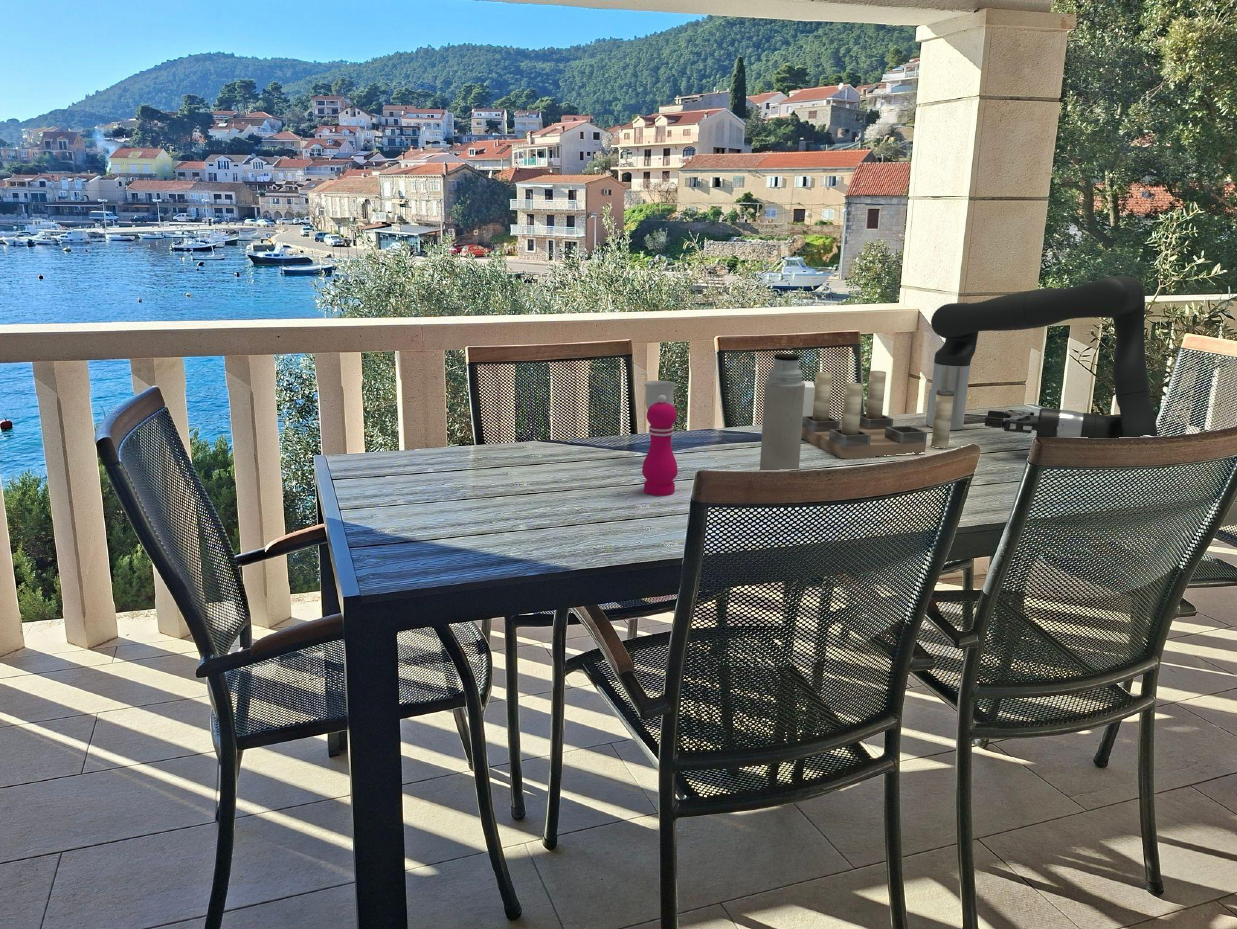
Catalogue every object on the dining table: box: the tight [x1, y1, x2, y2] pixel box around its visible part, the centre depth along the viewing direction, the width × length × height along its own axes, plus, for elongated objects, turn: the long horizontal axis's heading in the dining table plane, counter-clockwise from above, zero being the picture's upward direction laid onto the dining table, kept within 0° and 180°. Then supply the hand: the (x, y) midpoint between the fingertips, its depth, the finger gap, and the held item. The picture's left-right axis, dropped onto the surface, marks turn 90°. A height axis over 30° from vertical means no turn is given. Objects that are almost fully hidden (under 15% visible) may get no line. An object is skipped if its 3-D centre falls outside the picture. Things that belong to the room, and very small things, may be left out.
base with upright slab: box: [802, 380, 815, 416], centre depth 250 cm, size 9×9×12 cm
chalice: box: [643, 380, 677, 411], centre depth 214 cm, size 7×7×18 cm
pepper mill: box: [641, 395, 679, 497], centre depth 191 cm, size 7×7×20 cm
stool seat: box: [801, 370, 928, 459], centre depth 232 cm, size 22×22×17 cm
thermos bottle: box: [759, 353, 805, 471], centre depth 194 cm, size 8×8×28 cm
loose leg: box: [930, 390, 954, 449], centre depth 233 cm, size 4×4×14 cm
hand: (986, 418), depth 229 cm, fingers open, 8 cm apart
